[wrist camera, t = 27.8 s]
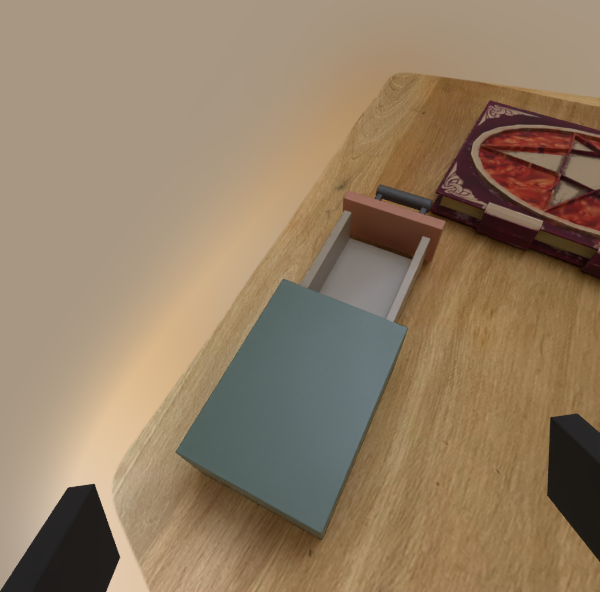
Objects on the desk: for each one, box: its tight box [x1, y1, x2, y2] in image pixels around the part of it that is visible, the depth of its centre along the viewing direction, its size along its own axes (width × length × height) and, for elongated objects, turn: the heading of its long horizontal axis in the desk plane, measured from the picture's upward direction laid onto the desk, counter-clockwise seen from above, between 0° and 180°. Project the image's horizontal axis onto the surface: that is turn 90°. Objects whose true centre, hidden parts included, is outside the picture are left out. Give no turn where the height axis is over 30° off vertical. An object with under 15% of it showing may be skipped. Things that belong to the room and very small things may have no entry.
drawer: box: [300, 184, 446, 323], centre depth 43 cm, size 20×10×5 cm, turn 153°
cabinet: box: [176, 279, 408, 540], centre depth 36 cm, size 17×12×7 cm
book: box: [430, 101, 600, 277], centre depth 49 cm, size 28×21×5 cm
